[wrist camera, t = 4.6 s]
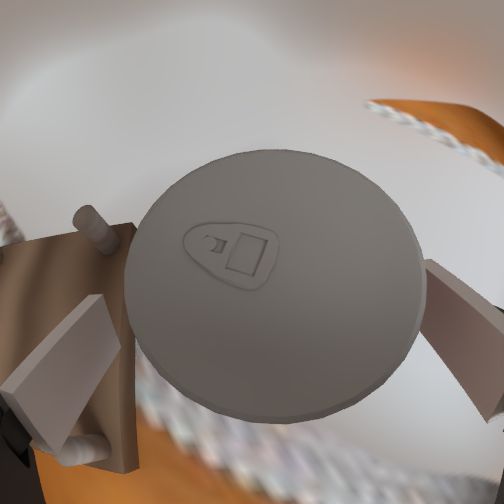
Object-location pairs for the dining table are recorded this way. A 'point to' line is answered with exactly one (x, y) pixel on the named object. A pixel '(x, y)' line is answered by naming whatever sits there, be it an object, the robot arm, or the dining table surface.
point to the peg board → (60, 306)
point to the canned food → (275, 286)
